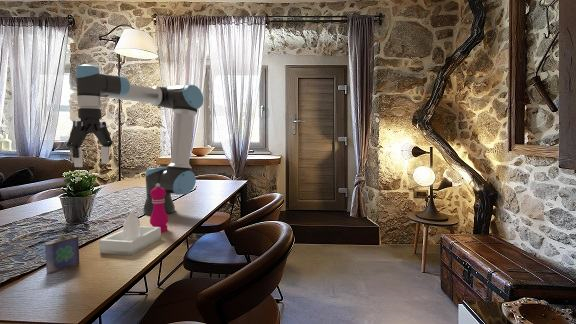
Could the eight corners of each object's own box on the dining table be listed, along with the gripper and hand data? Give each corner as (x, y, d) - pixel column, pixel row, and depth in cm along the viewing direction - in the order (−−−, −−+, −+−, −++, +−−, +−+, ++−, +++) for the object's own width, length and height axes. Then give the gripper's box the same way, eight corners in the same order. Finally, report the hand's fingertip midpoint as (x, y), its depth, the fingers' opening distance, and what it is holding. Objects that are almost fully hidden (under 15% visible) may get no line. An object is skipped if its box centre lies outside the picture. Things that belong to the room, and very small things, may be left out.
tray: (133, 236, 133) (132, 225, 133) (160, 238, 131) (160, 227, 131) (100, 253, 115) (99, 240, 115) (131, 255, 113) (131, 242, 113)
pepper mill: (162, 234, 137) (160, 185, 135) (146, 232, 138) (144, 184, 136) (172, 228, 144) (170, 182, 142) (156, 227, 145) (155, 181, 143)
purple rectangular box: (49, 274, 98) (46, 238, 97) (44, 272, 100) (41, 237, 99) (81, 263, 106) (79, 230, 105) (76, 262, 108) (74, 229, 107)
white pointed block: (121, 208, 123) (138, 207, 126) (123, 240, 124) (139, 238, 127) (123, 212, 118) (140, 210, 121) (124, 245, 119) (141, 242, 122)
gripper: (104, 110, 139) (107, 161, 141) (51, 105, 114) (56, 168, 116) (120, 110, 137) (123, 162, 139) (71, 105, 113) (75, 168, 115)
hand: (92, 165), depth 128 cm, fingers open, 13 cm apart
